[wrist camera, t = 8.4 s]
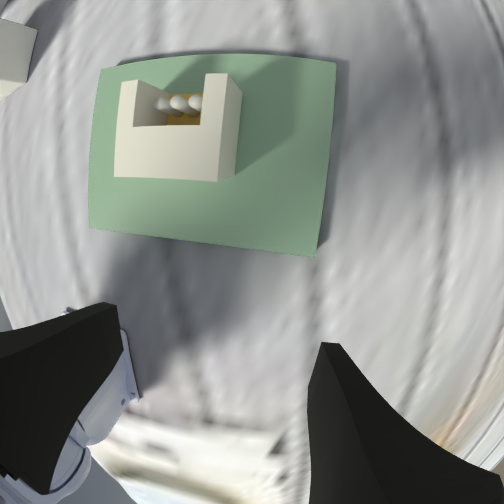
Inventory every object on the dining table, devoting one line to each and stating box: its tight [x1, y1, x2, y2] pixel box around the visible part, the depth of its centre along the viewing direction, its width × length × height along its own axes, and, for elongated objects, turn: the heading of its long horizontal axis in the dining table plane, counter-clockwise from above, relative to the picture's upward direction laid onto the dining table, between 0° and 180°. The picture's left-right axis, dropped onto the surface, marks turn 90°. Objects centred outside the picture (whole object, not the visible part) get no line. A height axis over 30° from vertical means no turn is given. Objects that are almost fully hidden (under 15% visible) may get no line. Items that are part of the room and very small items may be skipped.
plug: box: [114, 73, 243, 182], centre depth 13 cm, size 5×6×4 cm
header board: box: [88, 54, 336, 258], centre depth 14 cm, size 12×16×4 cm
